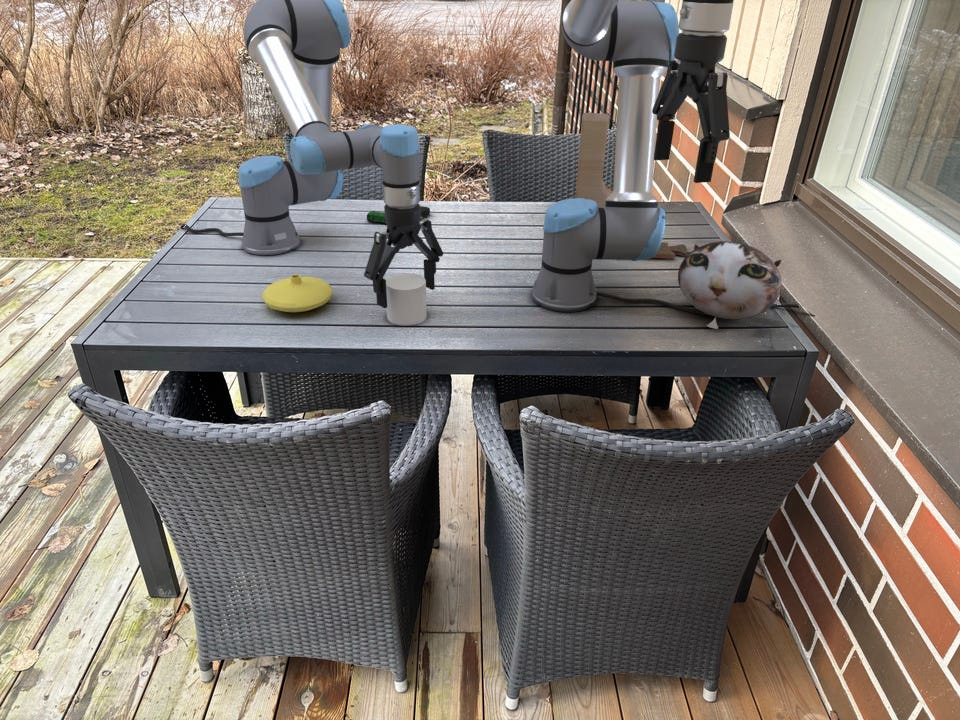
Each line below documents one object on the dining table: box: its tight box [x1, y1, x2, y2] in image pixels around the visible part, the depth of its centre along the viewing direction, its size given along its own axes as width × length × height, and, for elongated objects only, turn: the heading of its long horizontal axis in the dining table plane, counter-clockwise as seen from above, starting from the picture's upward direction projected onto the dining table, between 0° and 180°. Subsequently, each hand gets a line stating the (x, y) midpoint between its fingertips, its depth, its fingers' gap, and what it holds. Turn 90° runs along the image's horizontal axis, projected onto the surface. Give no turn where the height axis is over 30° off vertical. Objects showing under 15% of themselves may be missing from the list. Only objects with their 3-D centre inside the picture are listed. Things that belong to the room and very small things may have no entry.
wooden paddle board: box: [652, 241, 688, 259], centre depth 196 cm, size 26×2×10 cm
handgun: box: [366, 205, 431, 224], centre depth 216 cm, size 16×3×15 cm
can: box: [385, 272, 428, 327], centre depth 159 cm, size 9×9×9 cm
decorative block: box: [574, 112, 613, 208], centre depth 213 cm, size 8×15×30 cm, turn 82°
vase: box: [261, 273, 333, 313], centre depth 164 cm, size 16×16×7 cm
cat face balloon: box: [677, 240, 783, 330], centre depth 159 cm, size 22×18×20 cm
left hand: (406, 296), depth 159 cm, fingers open, 13 cm apart
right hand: (680, 170), depth 121 cm, fingers open, 13 cm apart
